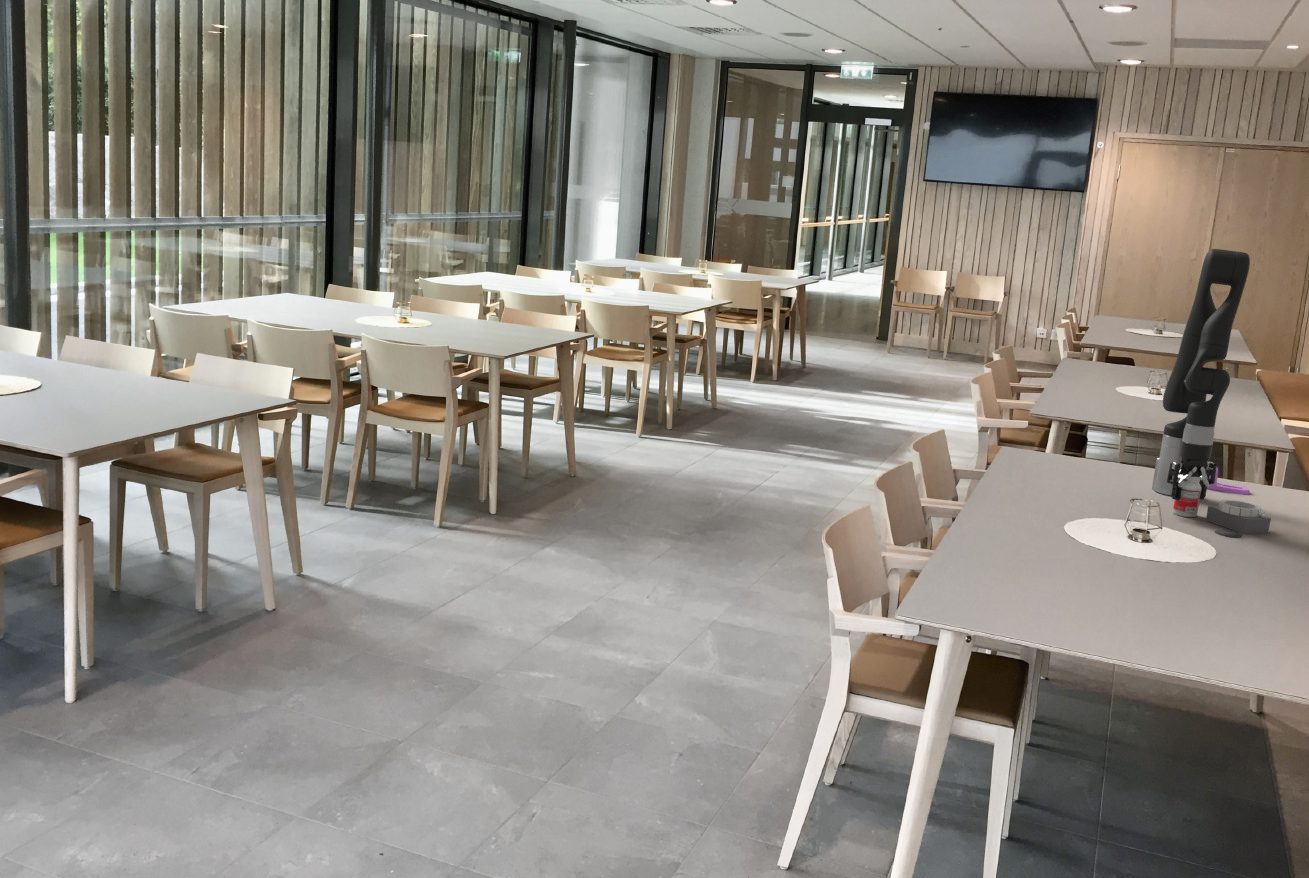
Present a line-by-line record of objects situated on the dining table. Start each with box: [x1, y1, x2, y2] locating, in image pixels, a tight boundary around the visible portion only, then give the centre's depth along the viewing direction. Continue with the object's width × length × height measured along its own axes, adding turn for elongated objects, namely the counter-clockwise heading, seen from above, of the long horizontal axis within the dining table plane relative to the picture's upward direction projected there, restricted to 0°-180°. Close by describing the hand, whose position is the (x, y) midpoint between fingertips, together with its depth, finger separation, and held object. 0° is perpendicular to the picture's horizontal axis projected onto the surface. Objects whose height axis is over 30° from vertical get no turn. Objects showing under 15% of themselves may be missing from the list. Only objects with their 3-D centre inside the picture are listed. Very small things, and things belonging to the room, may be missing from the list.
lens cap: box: [1214, 528, 1243, 539], centre depth 291 cm, size 6×6×1 cm
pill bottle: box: [1172, 474, 1202, 518], centre depth 307 cm, size 6×6×11 cm
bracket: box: [1207, 466, 1251, 495], centre depth 343 cm, size 13×6×7 cm, turn 63°
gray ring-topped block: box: [1205, 499, 1272, 535], centre depth 299 cm, size 13×10×6 cm
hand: (1187, 499), depth 307 cm, fingers open, 8 cm apart
